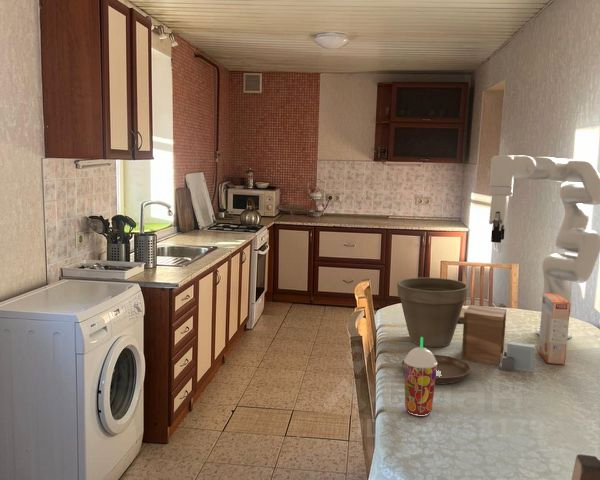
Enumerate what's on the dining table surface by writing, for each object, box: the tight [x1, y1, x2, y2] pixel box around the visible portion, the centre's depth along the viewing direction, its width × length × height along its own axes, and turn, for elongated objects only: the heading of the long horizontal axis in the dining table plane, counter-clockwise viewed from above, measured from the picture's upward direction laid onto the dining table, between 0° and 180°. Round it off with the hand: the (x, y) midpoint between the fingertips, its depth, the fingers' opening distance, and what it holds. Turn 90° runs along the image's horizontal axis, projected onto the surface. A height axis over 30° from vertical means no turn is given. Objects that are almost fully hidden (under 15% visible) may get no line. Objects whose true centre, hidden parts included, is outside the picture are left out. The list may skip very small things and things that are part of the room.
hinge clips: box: [498, 350, 515, 372], centre depth 181 cm, size 8×4×4 cm, turn 155°
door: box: [506, 341, 536, 373], centre depth 179 cm, size 3×8×8 cm, turn 65°
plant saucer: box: [400, 354, 471, 384], centre depth 173 cm, size 21×21×3 cm
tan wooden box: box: [461, 304, 507, 366], centre depth 189 cm, size 12×12×16 cm
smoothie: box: [403, 337, 438, 415], centre depth 144 cm, size 8×8×20 cm
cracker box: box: [537, 293, 571, 365], centre depth 189 cm, size 14×6×21 cm, turn 168°
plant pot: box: [396, 277, 469, 348], centre depth 205 cm, size 25×25×22 cm
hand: (497, 240), depth 196 cm, fingers open, 9 cm apart
